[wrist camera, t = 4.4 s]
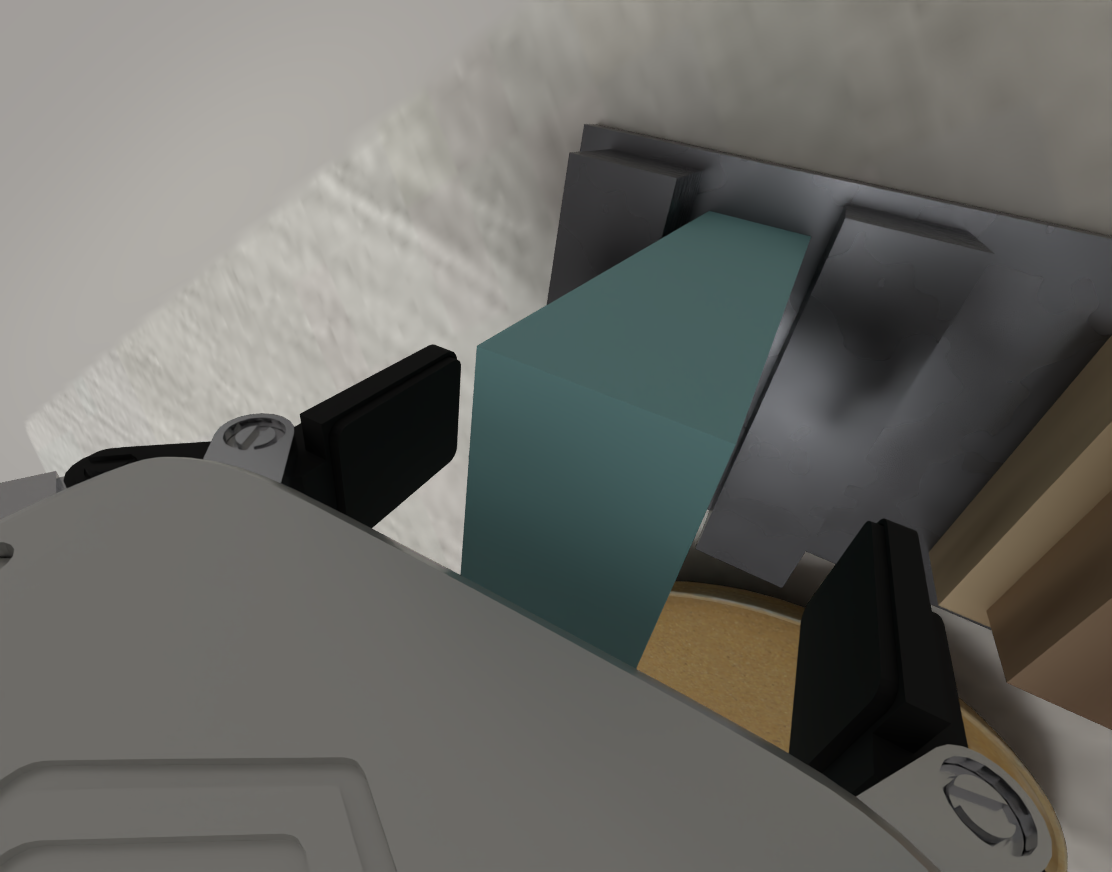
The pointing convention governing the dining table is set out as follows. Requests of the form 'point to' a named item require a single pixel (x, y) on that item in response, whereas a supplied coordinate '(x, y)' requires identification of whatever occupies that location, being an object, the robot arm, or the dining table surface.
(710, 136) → the dining table surface
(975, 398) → the rack
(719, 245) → the teal board
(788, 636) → the plant saucer
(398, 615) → the robot arm
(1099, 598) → the offcut high
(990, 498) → the offcut low
